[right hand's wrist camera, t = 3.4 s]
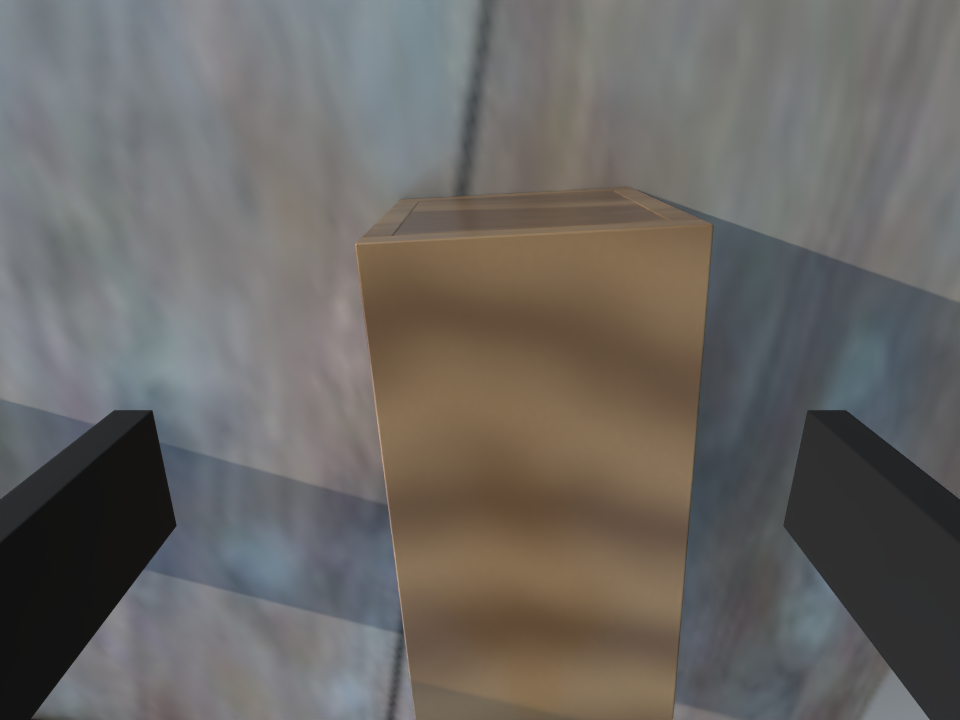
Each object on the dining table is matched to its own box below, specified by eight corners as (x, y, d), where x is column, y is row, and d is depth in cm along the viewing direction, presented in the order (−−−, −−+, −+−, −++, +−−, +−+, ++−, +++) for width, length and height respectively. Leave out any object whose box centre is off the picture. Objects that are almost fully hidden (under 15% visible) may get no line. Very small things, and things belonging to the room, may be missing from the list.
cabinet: (618, 548, 37) (673, 720, 27) (434, 556, 37) (415, 729, 27) (630, 186, 30) (714, 224, 19) (399, 199, 30) (354, 243, 19)
